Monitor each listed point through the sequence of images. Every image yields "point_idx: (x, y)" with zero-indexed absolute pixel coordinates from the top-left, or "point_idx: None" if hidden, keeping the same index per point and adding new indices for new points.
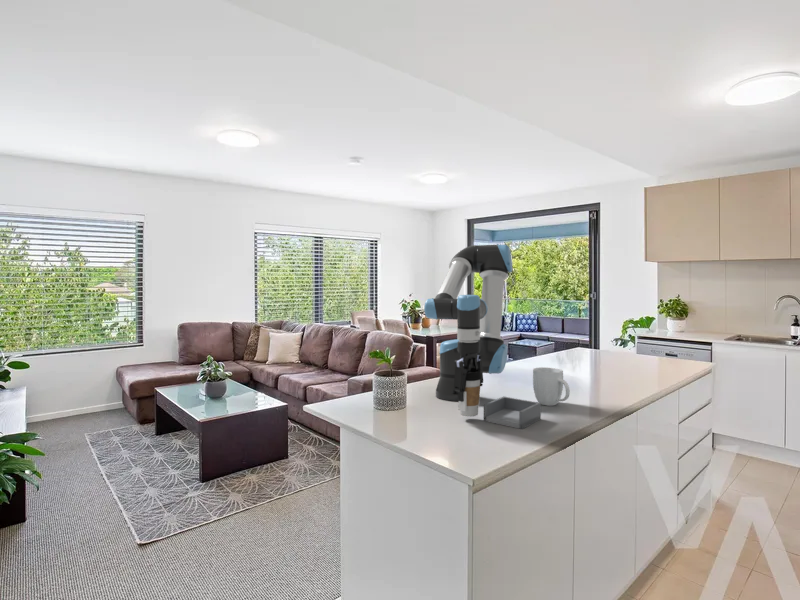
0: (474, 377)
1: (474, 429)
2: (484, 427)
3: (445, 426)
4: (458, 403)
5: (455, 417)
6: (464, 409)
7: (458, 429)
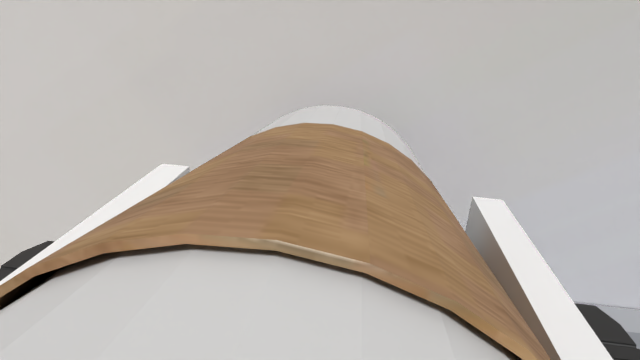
0: None
1: None
2: None
3: (38, 86)
4: (117, 196)
5: (331, 21)
6: None
7: (60, 212)
